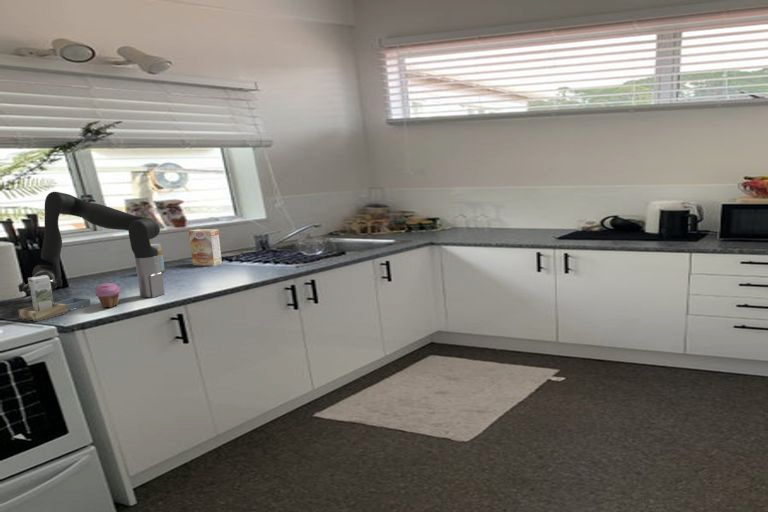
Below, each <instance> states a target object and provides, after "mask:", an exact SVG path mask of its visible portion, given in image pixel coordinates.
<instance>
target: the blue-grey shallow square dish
mask: <svg viewBox="0 0 768 512" xmlns="http://www.w3.org/2000/svg"><path fill="white" fill-rule="evenodd" d="M53 303H59V304H66V305H67V310H71V309H74V308H78V307H82V306H85V307H87V306H86V305H89V306H91V305H90V304H91V299H90V298H83V297H76V296H73V297H70V298H67V299H62V300H58V301H55V302H54V301H53ZM82 308H83V307H82ZM78 309H79V308H78ZM74 310H75V309H74ZM71 311H72V310H71Z"/></svg>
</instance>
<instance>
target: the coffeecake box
mask: <svg viewBox="0 0 768 512" xmlns="http://www.w3.org/2000/svg"><path fill="white" fill-rule="evenodd" d="M188 233H189V234H188V235H189V242H190V251H191V260H192V265H193V266H205V267H207V266H209V267H215V266H218V265H222V264H223V263H222V262H223V261H222V252H221V244H220V243H221V242H220V241H221V240H220V234H219V229H208V228H207V229H205V228H203V229H201V228H200V229H199V228H198V229H197V228H196V229H191V230H188Z"/></svg>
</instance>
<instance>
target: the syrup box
mask: <svg viewBox="0 0 768 512" xmlns="http://www.w3.org/2000/svg"><path fill="white" fill-rule="evenodd" d="M27 281H28V282H29V287H30V291H29V292H30V297H31V305H32V306H33V311H35V312H38V311H42V310H45V309H49V308H53V307H54V298H53V289H52V288H51V283H50V277H48V276H47V275H41V276H36V277H33V276H32V277H31V276H30V277H27ZM28 282H27V283H28ZM29 287H28V288H29Z"/></svg>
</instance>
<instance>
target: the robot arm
mask: <svg viewBox="0 0 768 512" xmlns="http://www.w3.org/2000/svg"><path fill="white" fill-rule="evenodd" d="M60 215H65V216H66V215H67V216H75V217H77V218H81V219H84V220H85V221H87V222H88V223H90V224H92V225H94V226H97V227H99V228H104V229H108V230H109V229H110V230H117V231H118V230H119V231H128V237H129V243H130V247H131V251H132V253H133V254H134V260H135V268H136V269H135V270H136V277H137V284H138V288H139V297H140V298H143V297H148V298H156V297H159V296H163V295H165V285H164V279H163V273H161V272H160V264H159V256H158V250H157V249H156V248H153V247H152V246H151V245H150V244H151V241H150V240H153V239H154V238H156V237H158V235H159V234H160V231H161V228H160V225H159V223H158V222H157V221H156V220H154V219H153V218H149V217H143V216H140V215H135V214H130V213H128V212H125V211H122V210H119V209H116V208H113V207H111V206H107V205H103V204H100V203H96V202H88V201H86V200H83V199H81V198H79V197H76V196H74V195H71V194H69V193H65V192H64V193H63V192H60V191H50V192H49V193H48V194H47V195H46V197H45V200H44V234H43V235H44V236H43V242H42V248H41V254H40V258H41V259H42V260H45V261H47V262H50V263H51V264H52V266H51V265H45V264H44V265H43V264H38V265H35V266H34V268H33V270H32V277H36V276H41V275H47V276H48V277H50V283H51V290H54V289H56V288H57V287H59V288H61V287H63V280H62V278H61V277H62V271H61V269H62V268H61V264H60V262H61V261H60V259H61V258H60V257H61V253H62V247H63V239H62V235H61V231H60V227H59V218H60ZM18 291H19V293H22V292H23V293H25V294H26V293H29V292H30V287H29V282H27V284H26V282H21V283H19V284H18Z"/></svg>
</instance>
